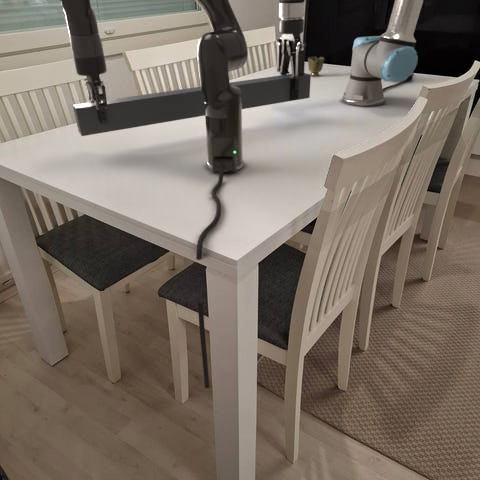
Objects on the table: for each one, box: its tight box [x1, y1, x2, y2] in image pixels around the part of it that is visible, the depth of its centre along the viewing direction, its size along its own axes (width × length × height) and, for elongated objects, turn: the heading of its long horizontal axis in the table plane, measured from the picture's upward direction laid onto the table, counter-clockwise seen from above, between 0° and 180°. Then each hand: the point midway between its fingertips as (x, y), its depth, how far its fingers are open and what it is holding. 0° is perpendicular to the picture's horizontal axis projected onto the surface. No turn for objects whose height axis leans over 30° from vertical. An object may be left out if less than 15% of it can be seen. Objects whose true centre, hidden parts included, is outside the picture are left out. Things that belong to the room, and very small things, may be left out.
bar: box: [72, 72, 312, 137], centre depth 133 cm, size 74×5×7 cm, turn 118°
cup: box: [307, 56, 325, 77], centre depth 209 cm, size 8×7×8 cm
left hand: (101, 120), depth 122 cm, fingers closed on bar, 4 cm apart
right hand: (289, 97), depth 146 cm, fingers closed on bar, 5 cm apart
